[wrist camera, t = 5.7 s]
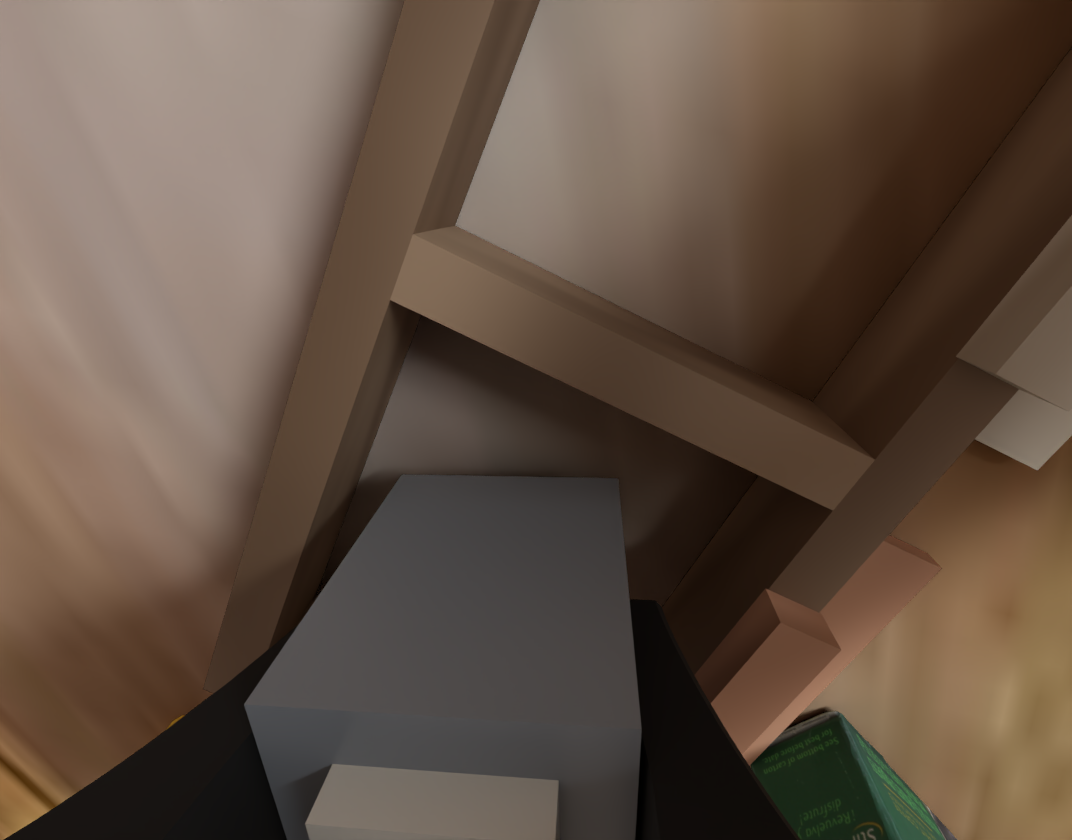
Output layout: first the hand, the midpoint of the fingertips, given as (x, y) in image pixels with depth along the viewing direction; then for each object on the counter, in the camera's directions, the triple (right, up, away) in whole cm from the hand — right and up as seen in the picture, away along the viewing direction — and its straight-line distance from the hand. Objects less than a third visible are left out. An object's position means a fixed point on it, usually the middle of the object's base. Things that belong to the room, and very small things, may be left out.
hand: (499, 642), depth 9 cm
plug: (0, +1, +2) cm, 2 cm away
